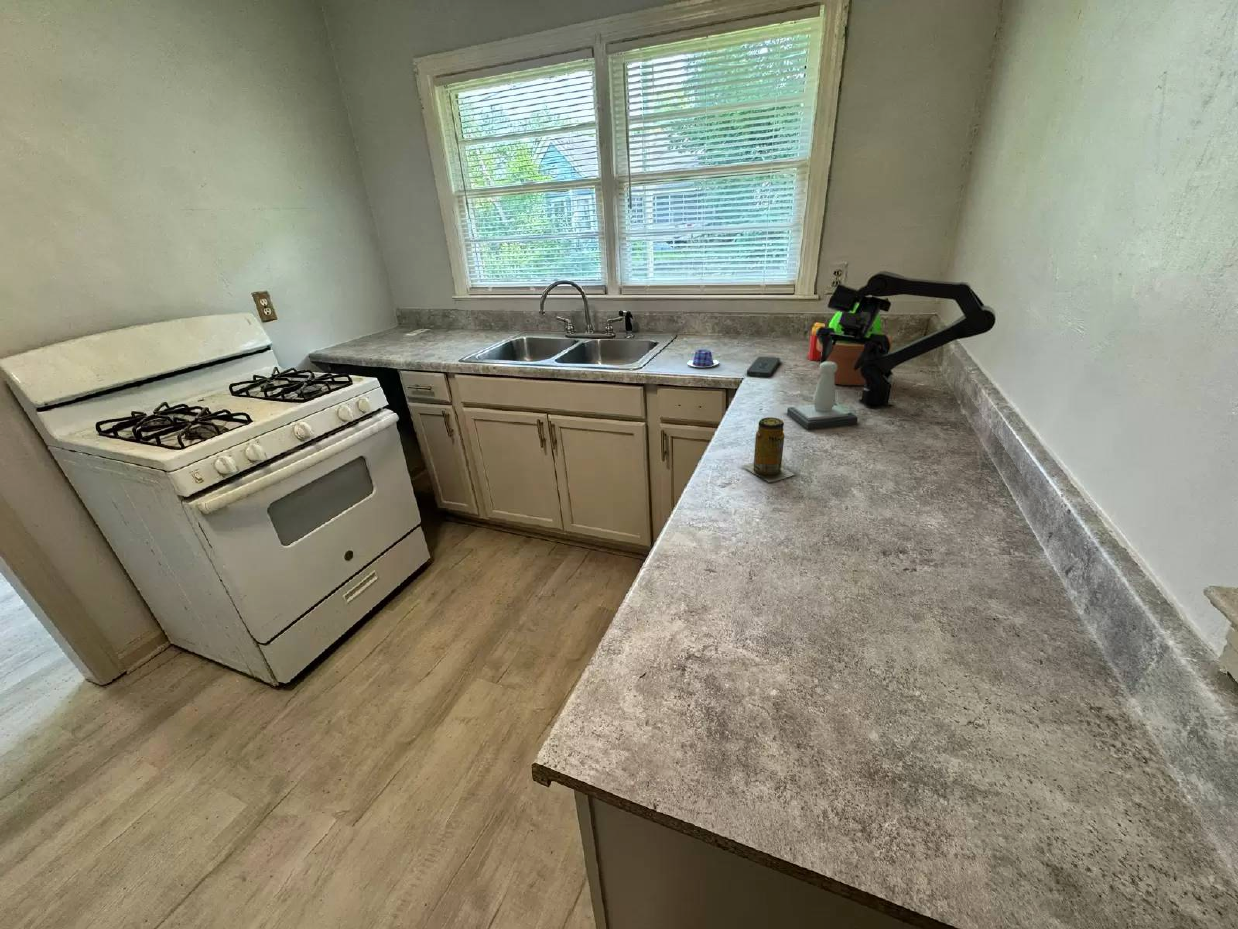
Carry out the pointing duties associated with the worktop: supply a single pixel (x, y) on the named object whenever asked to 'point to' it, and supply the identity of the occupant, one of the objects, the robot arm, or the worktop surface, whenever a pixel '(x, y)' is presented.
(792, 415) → the kitchen scale
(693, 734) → the worktop surface
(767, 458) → the condiment
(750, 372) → the smart home device
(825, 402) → the salt shaker
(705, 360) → the pudding
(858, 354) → the potted cactus
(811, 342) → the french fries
